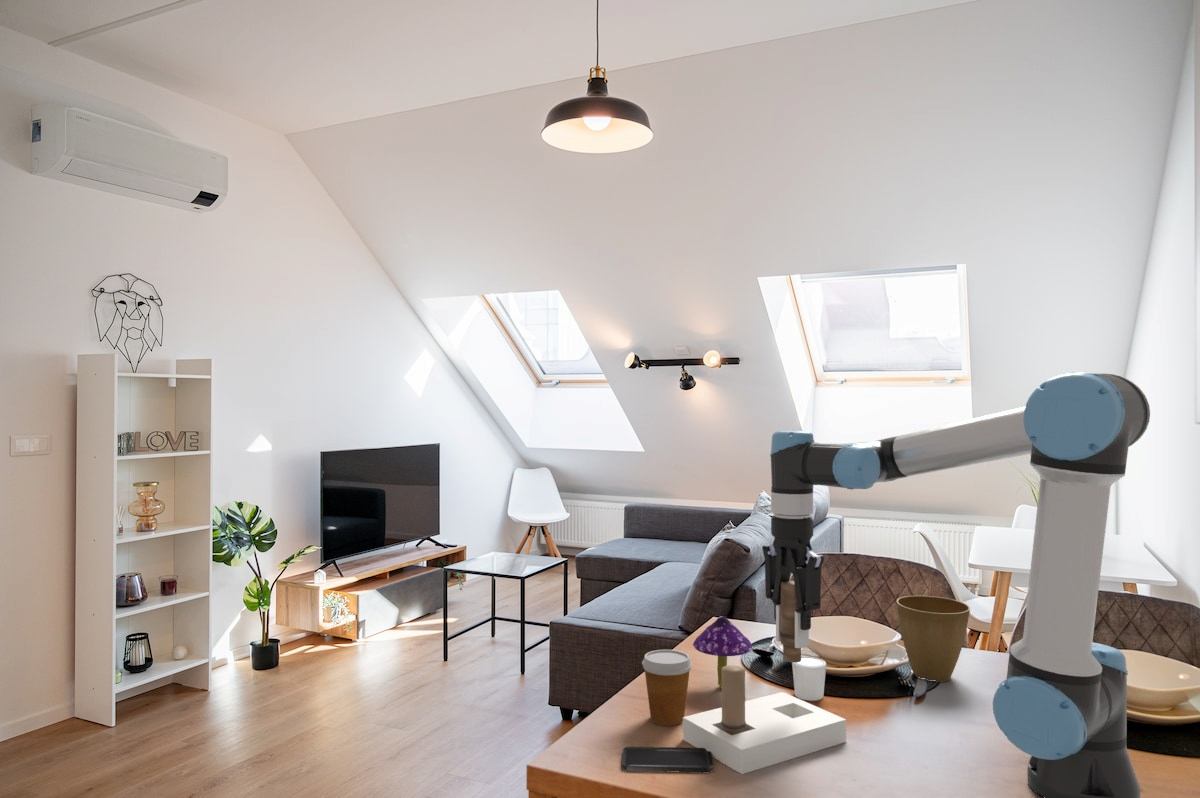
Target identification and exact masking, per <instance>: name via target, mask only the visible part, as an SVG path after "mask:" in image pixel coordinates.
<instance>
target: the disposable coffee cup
mask: <svg viewBox="0 0 1200 798" xmlns="http://www.w3.org/2000/svg"><path fill="white" fill-rule="evenodd" d="M641 665H642V668H643V670H644V674H645V683H646V684H645V685H646V690H647V691H646V692H647V699H648V708H649V713H650V721H651V722H652V723H654V724H656V725H659V726H665V725H666V727H667V726H668V727H669V726H676V725H680V724H683V717H685V713H686V711H685V710H686V704H687V696H688V687H689V678H690V671H691V669H692V666H693V662H692V661H691V657H690V655H689V654H688V653H686V652H683V651H681V650H676V649H656V650H651V651H649V652H647V653H645V654H644V657H643V660H642V661H641Z"/></svg>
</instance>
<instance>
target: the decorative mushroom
mask: <svg viewBox="0 0 1200 798" xmlns="http://www.w3.org/2000/svg"><path fill="white" fill-rule="evenodd" d="M692 645H693V647H694V649H695V650H696V651H698V652H700V653H703V654H706V655H710V656H714V657H715V656H716V657H717V670H716V671H717V684H718V686H719V687H720V688H722V667H724V666H728V657H734V656H742V655H745V654H747V653H749V652H751V651H752V648H753V643H752V642H751V641H750V640H749V638H748V637H747V636H745V635H744V634H743V633H742V632H741V630H740V629H739V628H738V627H737V626H736V625H734V624H733V623H732V622H731V621H730V619H728V618H727V616H723V615H722V616H721V615H720V616H719V617H717V619H716V620H715V621H713V623H711V624H710V625H708V626H707V627H706V628H704V630H703V631H702V632H701V633H700V634H699V635H698V636H697V637H696V638H695V640H694V642H693V643H692Z"/></svg>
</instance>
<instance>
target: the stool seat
mask: <svg viewBox="0 0 1200 798" xmlns="http://www.w3.org/2000/svg"><path fill="white" fill-rule="evenodd" d="M682 740H683V741H685V742H686V743H688V744H690V745H691V746H693V747H694V748H696V747H697V748H705V749H706V750H707V751H710V752H711V755H712V758H713V757H714V758H713V759H715V760H717V761H718V760H719V762H720V763H721V764H722V765H723V764H724V765H725V764H726V765H725V766H727V767H729V768H730V769H732V770H734V771H736V772H737V773H739V774H741V775H744V774H747V773H750V772H753V771H757V770H761V769H763V768H767V767H770V766H772V765H777V764H779V763H784V762H786V761H789V760H792V759H795V758H799V757H802V756H806V755H808V754H812V753H815V752H818V751H822V750H824V749H827V748H832V747H834V746H838V745H840V744H845V743H846V742H847V719H846V718H844V717H841V716H839V715H837V714H835V713H832V712H830V711H828V710H825V709H823V708H821V707H818V706H816V705H814V704H812V703H810V702H807V701H806V700H803V699H800V698H798V697H796V696H793V695H791V694H789V693H786V692H784V691H780V692H778V693H774V694H769V695H764V696H761V697H758V698H757V697H756V698H753V699H750V700H749V699H748V700H746V669H745V667H742V666H740V665H727V666H724V667H722V687H721V707H719V708H714V709H710V710H706V711H701V712H698V713H694V714H691V715H687V716H684V717H683V722H682Z"/></svg>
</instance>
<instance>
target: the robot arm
mask: <svg viewBox="0 0 1200 798" xmlns="http://www.w3.org/2000/svg"><path fill="white" fill-rule="evenodd" d="M1146 396H1147V395H1145V393H1144V392H1143V390H1142V389H1141V388H1140V387H1139V386H1138V385H1137V384H1135V383H1134V381H1131V380H1129V379H1127V378H1125V377H1123V376H1120V375H1116V374H1113V373H1112V374H1111V373H1095V372H1094V373H1093V372H1086V371H1080V372H1079V371H1077V372H1075V371H1072V372H1068V373H1063V374H1061V375H1057V376H1054V377H1051V378H1050V379H1047V380H1045V381H1044V382H1043V383H1041V384H1040V385H1039V386H1038V387H1036V388H1035V389H1034V390H1033V392H1032V393H1031V394H1030V396H1029V397H1028V399H1027V400H1026V403H1025V406H1023V407H1019V408H1014V409H1009V410H1004V411H1001V412H997V413H991V414H987V415H983V416H980V417H979V416H978V417H974V418H970V419H966V420H962V421H956V422H953V423H949V424H945V425H940V426H935V427H931V428H927V429H923V430H919V431H914V432H909V433H904V434H901V435H897V436H890V437H886V438H881V439H878V440H873V441H866V442H865V441H862V442H849V443H848V442H847V443H820V442H815V439H814V434H813V432H811V431H808V430H777V431H775V432H773V434H772V436H771V451H770V454H769V456H770V467H771V469H770V470H771V474H770V475H771V491H770V513H772V514H773V515H772V516H771V517H770V534H771V536H772V537H774V539H773V541H772V544H767V545H763V546H762V553H763V557H764V577H765V578H764V580H765V581H764V582H765V583H764V585H765V587H764V588H765V590H764V591H765V598H766V599H770V600H771V601H772V603H773V605H774V606H773V610H774V611H773V612H774V613H773V618H774V621H775V641H777V642H781V636H780V632H781V582H782V581H791V579H790V578H791V574H792V575H793V576H792V577H793V581H794V584H795V590H796V597H797V604H798V609H795V648H801V649H802V648H806V647H807V648H808V647H809V646H810V641H809V640H810V639H809V638H810V634H809V633H810V631H809V630H811V628H812V622H811V621H812V615H811V614H812V612H813V611H816V610H820V609H821V598H822V597H821V596H822V595H821V592H822V591H821V589H822V588H821V587H822V586H821V585H822V567H823V564H824V560H825V558H824V555H823V554H817V553H815V552H814V551H813V547H812V545H811V539H812V538H813V537H814V518H813V517H812V516H811V515H813V514H814V486H824V487H832V488H833V487H834V488H842V489H847V490H856V489H857V490H868V489H870V488H872V487H874V484H876V483H887V482H893V481H895V480H898V479H904V478H907V477H914V476H918V475H924V474H929V473H934V472H939V471H945V470H950V469H955V468H961V467H969V466H971V465H977V464H983V463H989V462H994V461H995V462H996V461H999V460H1004V459H1005V460H1006V459H1009V458H1011V459H1012V458H1015V457H1021V456H1028V455H1030V461H1029V463H1030V464H1029V465H1030V466H1031V468H1033V470H1034V471H1036V473H1037V474H1038V475H1039V479H1040V480H1039V487H1038V488H1039V489H1038V497H1037V505H1036V514H1035V515H1036V516H1035V525H1034V534H1033V543H1032V553H1031V563H1030V569H1029V570H1030V571H1029V579H1028V590H1027V600H1026V605H1025V609H1026V610H1025V616H1024V617H1025V618H1024V626H1023V635H1022V638H1021V639H1020V640H1018V641H1016V642H1014V643H1013V644H1012V645H1010V648H1009V653H1008V654H1009V655H1008V662H1007V671H1006V672H1007V673H1006V679H1005V680H1003V681H1002V682H1000V684H998V685H999V686H998V688H997V689H996V691H995V693H994V694H993V697H992V712H993V713H992V714H993V716H994V720H995V722H996V724H997V726H998V728H999V729H1000V731H1001V732H1002V733H1003V734H1004V736H1005V737H1006V738H1007V740H1008V741H1009V742H1010V743H1011V744H1012V745H1013V746H1014V747H1016V748H1017V749H1018V750H1020V751H1021V752H1023V753H1025V754H1027V755H1029V756H1030V759H1029V761H1028V764H1027V784H1028V787H1030V789H1033V790H1032V791H1033V792H1034V793H1036V794H1037V793H1038V794H1037V795H1039V794H1040V795H1041V796H1040V795H1039V796H1040V797H1042V796H1043V797H1045V798H1141V793H1142V792H1141V785H1140V784H1139V781H1138V777H1137V775H1136V772H1135V768H1134V766H1133V763H1132V761H1131V757H1130V756H1129V753H1128V748H1127V747H1128V746H1127V732H1128V731H1127V730H1128V729H1127V728H1128V727H1127V725H1128V724H1127V723H1128V722H1127V721H1128V720H1127V718H1128V717H1127V715H1128V714H1127V707H1128V705H1127V702H1128V701H1127V699H1128V698H1127V694H1128V693H1127V692H1128V691H1127V690H1128V689H1127V688H1128V687H1127V686H1128V684H1127V681H1128V679H1127V678H1128V674H1129V671H1128V670H1127V669H1128V668H1127V659H1126V656H1125V655H1124V653H1123V652H1122V651H1121V650H1120V649H1118V648H1115V647H1112V646H1109V645H1107V644H1102V643H1098V642H1094V641H1093V639H1094V631H1095V623H1096V614H1097V605H1098V596H1099V588H1100V578H1101V571H1102V563H1103V553H1104V547H1105V537H1106V528H1107V522H1108V521H1107V520H1108V511H1109V502H1110V493H1111V487H1112V485H1113V484H1115V482H1117V481H1119V480H1121V479H1122V478H1124V477H1125V476H1126V468H1127V461H1128V460H1127V459H1128V453H1129V447H1131V446H1133V445H1135V443H1136V442H1138V441H1139V440H1140V439H1141V438H1142V436H1143V435H1144V434H1145V432H1146V430H1147V429H1148V426H1149V424H1150V419H1151V418H1150V417H1151V409H1150V404H1149V402H1148V399H1147V397H1146ZM1043 797H1042V798H1043Z"/></svg>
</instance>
